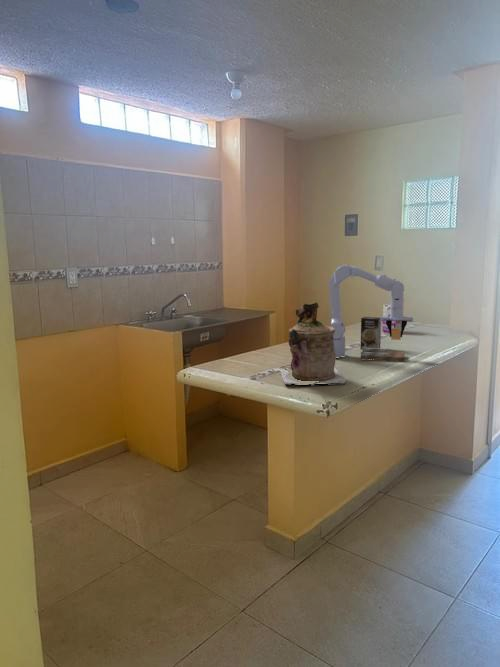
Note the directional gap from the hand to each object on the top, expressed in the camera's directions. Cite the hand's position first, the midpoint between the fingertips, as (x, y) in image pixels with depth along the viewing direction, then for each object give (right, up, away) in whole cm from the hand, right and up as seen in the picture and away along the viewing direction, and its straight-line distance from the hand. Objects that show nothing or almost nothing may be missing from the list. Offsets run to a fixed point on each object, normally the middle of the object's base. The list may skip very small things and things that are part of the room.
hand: (396, 336), depth 229 cm
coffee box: (-6, -6, +24) cm, 25 cm away
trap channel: (-5, -10, +4) cm, 12 cm away
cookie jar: (-43, -17, -26) cm, 52 cm away
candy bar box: (+16, +2, +64) cm, 66 cm away
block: (0, -1, 0) cm, 1 cm away
